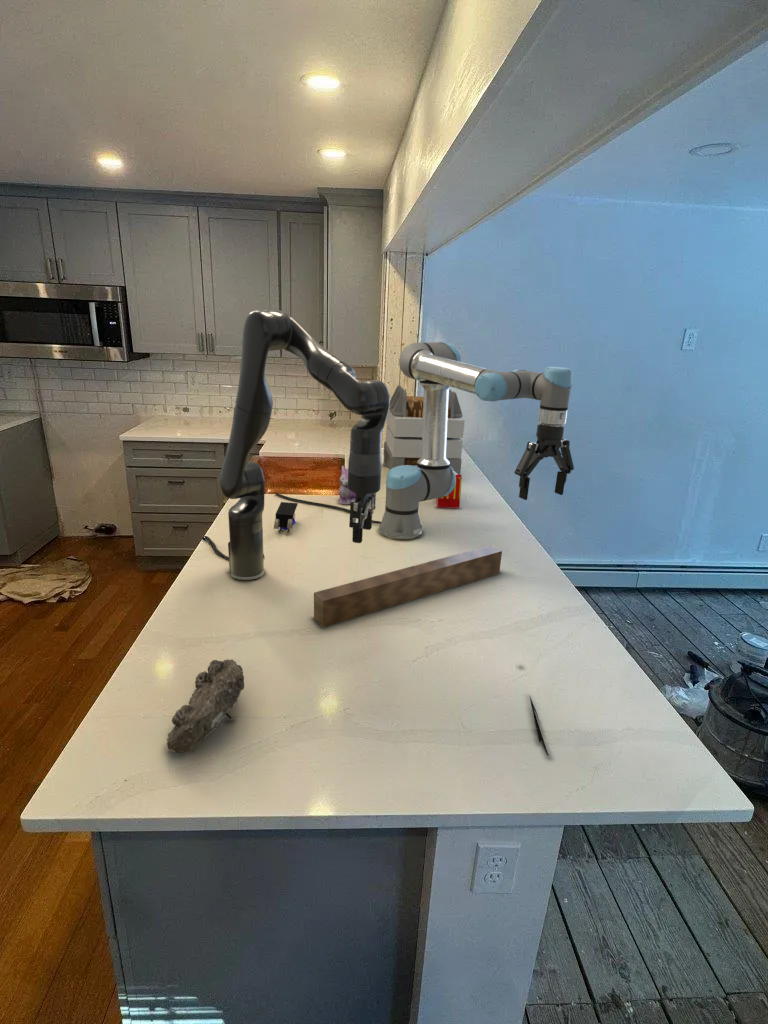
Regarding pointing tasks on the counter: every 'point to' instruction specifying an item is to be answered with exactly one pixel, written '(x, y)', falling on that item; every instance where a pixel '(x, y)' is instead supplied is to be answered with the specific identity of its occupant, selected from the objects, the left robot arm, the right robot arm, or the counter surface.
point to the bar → (404, 585)
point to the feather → (538, 726)
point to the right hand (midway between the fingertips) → (541, 496)
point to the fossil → (206, 705)
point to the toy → (452, 495)
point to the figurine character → (285, 516)
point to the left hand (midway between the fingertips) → (362, 535)
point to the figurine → (345, 488)
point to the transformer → (418, 431)
